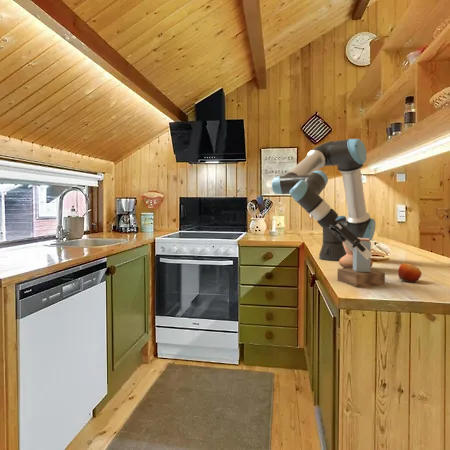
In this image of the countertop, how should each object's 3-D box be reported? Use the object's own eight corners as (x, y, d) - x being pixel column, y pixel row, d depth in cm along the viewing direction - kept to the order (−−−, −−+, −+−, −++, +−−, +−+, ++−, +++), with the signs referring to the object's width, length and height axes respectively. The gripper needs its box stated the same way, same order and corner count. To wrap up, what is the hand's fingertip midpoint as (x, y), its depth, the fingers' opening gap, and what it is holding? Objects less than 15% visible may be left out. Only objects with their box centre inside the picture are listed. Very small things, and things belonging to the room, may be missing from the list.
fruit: (389, 275, 144) (401, 258, 143) (407, 285, 143) (418, 268, 142) (397, 279, 136) (409, 261, 135) (415, 290, 135) (427, 272, 134)
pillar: (352, 269, 139) (353, 241, 138) (366, 270, 138) (366, 241, 138) (356, 271, 134) (356, 242, 133) (370, 272, 133) (370, 242, 133)
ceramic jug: (333, 266, 174) (334, 236, 173) (363, 265, 174) (363, 236, 173) (347, 273, 156) (348, 240, 155) (380, 273, 156) (381, 240, 155)
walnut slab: (363, 279, 144) (364, 267, 144) (384, 286, 133) (384, 273, 132) (337, 281, 141) (337, 269, 141) (356, 288, 129) (356, 274, 129)
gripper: (310, 220, 148) (346, 256, 149) (324, 223, 124) (367, 266, 124) (323, 207, 148) (359, 243, 148) (340, 207, 123) (383, 251, 123)
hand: (363, 254), depth 136 cm, fingers open, 13 cm apart
